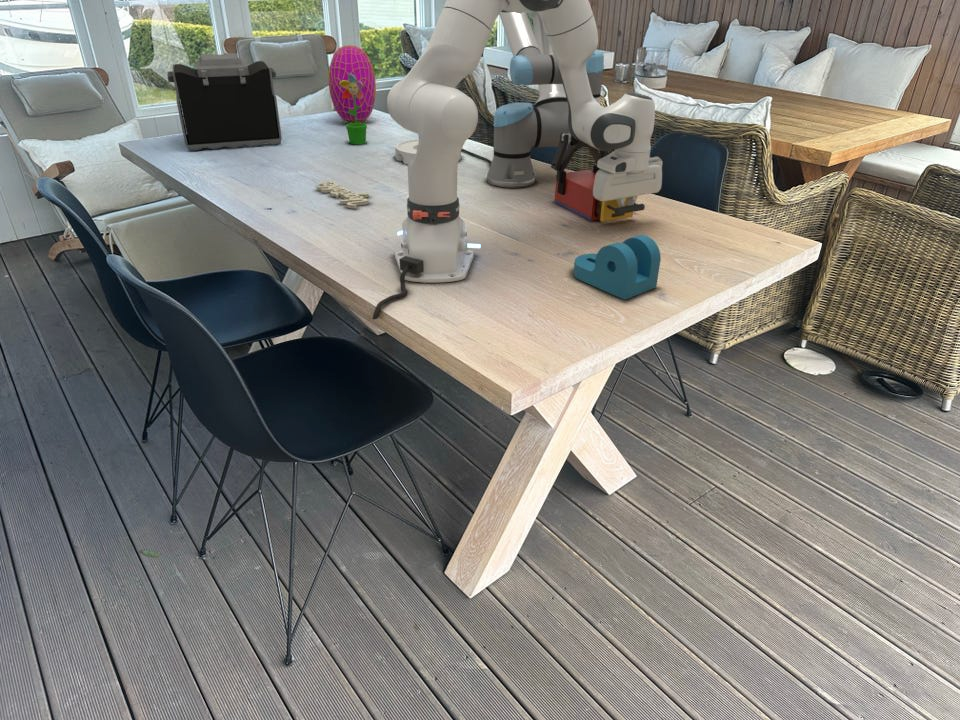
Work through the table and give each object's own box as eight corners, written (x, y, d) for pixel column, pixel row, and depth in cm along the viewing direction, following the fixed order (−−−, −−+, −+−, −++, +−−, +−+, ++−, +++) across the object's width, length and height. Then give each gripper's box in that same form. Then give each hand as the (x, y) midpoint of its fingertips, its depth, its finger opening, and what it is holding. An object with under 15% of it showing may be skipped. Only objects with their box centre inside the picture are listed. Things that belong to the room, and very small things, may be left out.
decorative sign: (381, 199, 198) (351, 206, 193) (382, 203, 199) (351, 209, 193) (339, 178, 216) (309, 184, 211) (339, 182, 216) (310, 187, 211)
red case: (623, 215, 192) (627, 186, 188) (591, 221, 188) (593, 191, 183) (585, 197, 206) (588, 169, 202) (554, 202, 202) (556, 173, 198)
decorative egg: (362, 116, 305) (357, 42, 290) (386, 123, 292) (382, 46, 277) (324, 121, 294) (316, 45, 279) (347, 129, 281) (340, 49, 266)
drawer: (644, 222, 184) (647, 199, 181) (614, 228, 180) (617, 205, 177) (595, 199, 201) (597, 178, 198) (567, 203, 197) (568, 182, 194)
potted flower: (342, 144, 260) (336, 73, 247) (351, 139, 266) (346, 70, 254) (365, 146, 257) (360, 74, 245) (374, 141, 264) (369, 71, 251)
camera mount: (656, 287, 150) (663, 241, 145) (624, 299, 144) (630, 252, 139) (595, 262, 162) (599, 219, 157) (563, 272, 156) (567, 228, 151)
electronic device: (279, 132, 275) (268, 51, 260) (286, 144, 258) (275, 58, 243) (181, 139, 264) (164, 54, 249) (182, 152, 246) (163, 62, 231)
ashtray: (454, 167, 232) (454, 155, 230) (388, 164, 235) (387, 152, 233) (466, 151, 252) (466, 140, 250) (404, 148, 255) (404, 137, 253)
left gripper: (654, 153, 182) (647, 203, 189) (592, 161, 174) (587, 214, 181) (671, 158, 177) (663, 210, 184) (607, 167, 169) (601, 221, 176)
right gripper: (611, 106, 196) (603, 182, 207) (541, 113, 186) (536, 192, 197) (628, 111, 190) (619, 189, 201) (556, 118, 181) (550, 199, 192)
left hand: (625, 212), depth 183 cm, fingers closed, pressing on drawer
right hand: (578, 191), depth 199 cm, fingers closed on red case, 11 cm apart
